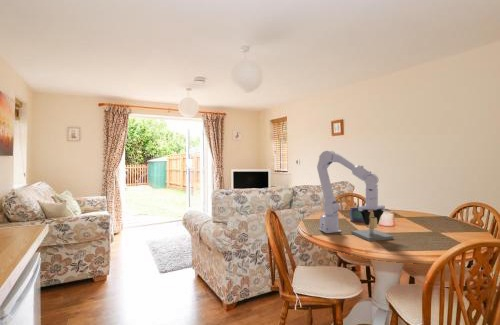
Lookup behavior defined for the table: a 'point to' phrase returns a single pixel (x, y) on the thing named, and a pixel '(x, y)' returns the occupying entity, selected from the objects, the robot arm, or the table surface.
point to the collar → (372, 222)
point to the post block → (372, 235)
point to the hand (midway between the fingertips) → (371, 224)
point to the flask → (356, 215)
